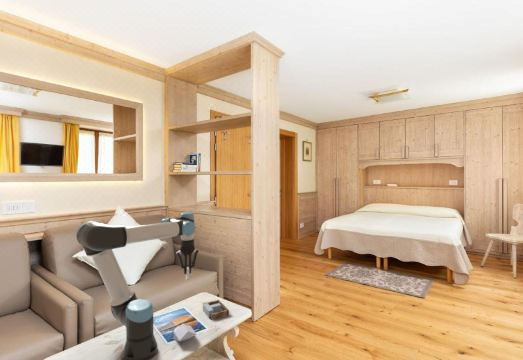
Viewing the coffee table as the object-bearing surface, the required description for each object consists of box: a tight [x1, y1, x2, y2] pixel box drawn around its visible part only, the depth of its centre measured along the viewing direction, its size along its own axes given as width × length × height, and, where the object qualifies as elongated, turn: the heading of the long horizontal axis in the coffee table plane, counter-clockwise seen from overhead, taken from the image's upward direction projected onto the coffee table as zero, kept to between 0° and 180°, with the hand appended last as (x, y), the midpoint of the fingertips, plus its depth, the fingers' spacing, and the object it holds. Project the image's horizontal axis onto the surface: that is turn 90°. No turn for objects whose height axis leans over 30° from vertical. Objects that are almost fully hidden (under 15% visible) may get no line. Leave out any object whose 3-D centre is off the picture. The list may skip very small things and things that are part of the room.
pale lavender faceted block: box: [173, 323, 198, 342], centre depth 146 cm, size 9×7×13 cm
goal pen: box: [202, 299, 230, 321], centre depth 173 cm, size 10×16×3 cm, turn 30°
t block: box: [202, 302, 222, 319], centre depth 172 cm, size 9×10×4 cm
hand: (187, 279), depth 167 cm, fingers closed
